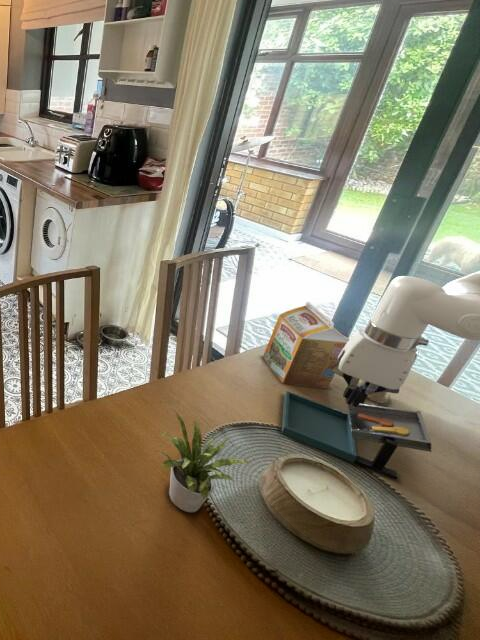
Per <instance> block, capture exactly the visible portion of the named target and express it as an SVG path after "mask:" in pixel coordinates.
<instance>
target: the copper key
mask: <svg viewBox="0 0 480 640" xmlns="http://www.w3.org/2000/svg"><path fill="white" fill-rule="evenodd" d="M358 417H359V418H363V419H367V420H371V421H374V422H378V423H380V424H382V425H384V426H393V425H394V422H393V421H392V420H390V419H386V418H381V419H380V418H376V417H372V416H368V415H365V414H361V413H359V414H358Z"/></svg>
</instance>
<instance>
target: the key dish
mask: <svg viewBox="0 0 480 640" xmlns="http://www.w3.org/2000/svg"><path fill="white" fill-rule="evenodd" d="M347 406H348V413H349V416H350V424H351V432H352V438H354V439H355V440H361V441H367V442H372V443H377V444H383V443H384V442H385V440H386V439H389V440H391V441H394V442H397V444H398V447H402V448H407V449H411V450H412V449H413V450H417V451H418V450H419V451H423V452H430V453H432V440H431V439H430V435H429V432H428V429H427V427H426V423H425V420H424V417H423V413H422V412H421V411H420V410H413V409H406V408H405V409H404V408H399V407H398V408H396V407H390V406H388V407H383V406H377V405H374V404H367V403H363V404H361V403H360V404H359V405H358V407H354V406H353V404H352V403H351V405H349V404H347ZM359 413H361V414H365V415H368V416H372V417H376V418H380V419H381V418H386V419H390V420H392V421H393V422H394V425H393V426H384V425H382V424H380V423H378V422H374V421H371V420H367V419H363V418H359V417H358V414H359ZM372 426H379V427H392V428H394V427H396V426H400V427H404V428H407V429H408V430H409V434H408V435H401V434H398V433H394V432H382V431H374V430H373V429H372Z"/></svg>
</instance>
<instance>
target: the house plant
mask: <svg viewBox="0 0 480 640" xmlns="http://www.w3.org/2000/svg"><path fill="white" fill-rule="evenodd" d="M171 409H172V411H173V413H174V415H175V416H176V418H177V420H178V421H179V424H180V427H181V432H182V436H183V439H182V438H180V437H172V436H171V435H170V434H167V433H164V432H161V433H156V434H157V435H159V436H162V437H165V438H167V439H170V440H171V442H172V444H173V445H174V446H175V448H176V449H177V450H178V452H179V454H180V457H181V459H178V460H175V459H172V458H171V457H170V456H169V455H168V454H167V453H165V452H162V451H159V450H157V451H156V450H155V452H156V453H158V454H160V455H162V456H164V457H166V458H167V459H165V461H163V463H162V464H161V465H160V467H159V468H162V467H163V468H170V479H169V490H168V494H169V498H170V500H171V502H172V503H173V504H174V505H175V507H177V508H178V509H180V510H181V511H184V512H186V513H196V512H198V511H199V510H200V508H201V507H202V506H203V505H204V503H205V502H206V501H207V499H208V498H209V497H210V495H212V493H213V491H214V490H215V481H214V480H215V479H216V480H228V481H231V482H235V481H234V479H233V477H232V476H231V475H229V474H226V473H224V472H223V471H222V470H220V469H218V468H219V467H226V466H232V465H235V464H251V462H250V461H248V460H245V459H242V458H237V457H231V458H230V457H229V458H220V459H217V460H215V461H214V462H211V463H209V462H210V461H212V459H213V458H214V457H215V456H216V455H218V454H219V453H220V452H221V451H222V450H223V448H224V447H225V444H226V443H227V440H228V438H225V439H224V440H223V441H222V442H221V443H219V444H218V445H217V446H215V445H212V444H211V445H208V444H209V443H210V442H212V441H214V440H215V439H216V437H213V438H211V439H209V440H208V441H207V442H206V443H205V444H204V446H203V447H202V444H203V438H202V432H201V428H200V427H199V424H198V423H197V422H196V421H193V435H192V441H191V444H190V441H189V436H188V431H187V428H186V425H185V422H184V420H183V419H182V417H181V416H180V415H179V413H177V411H176V410H175V409H173V408H171ZM203 450H204V451H203ZM202 451H203V453H202ZM208 463H209V464H208ZM211 473H214V474H211Z"/></svg>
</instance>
